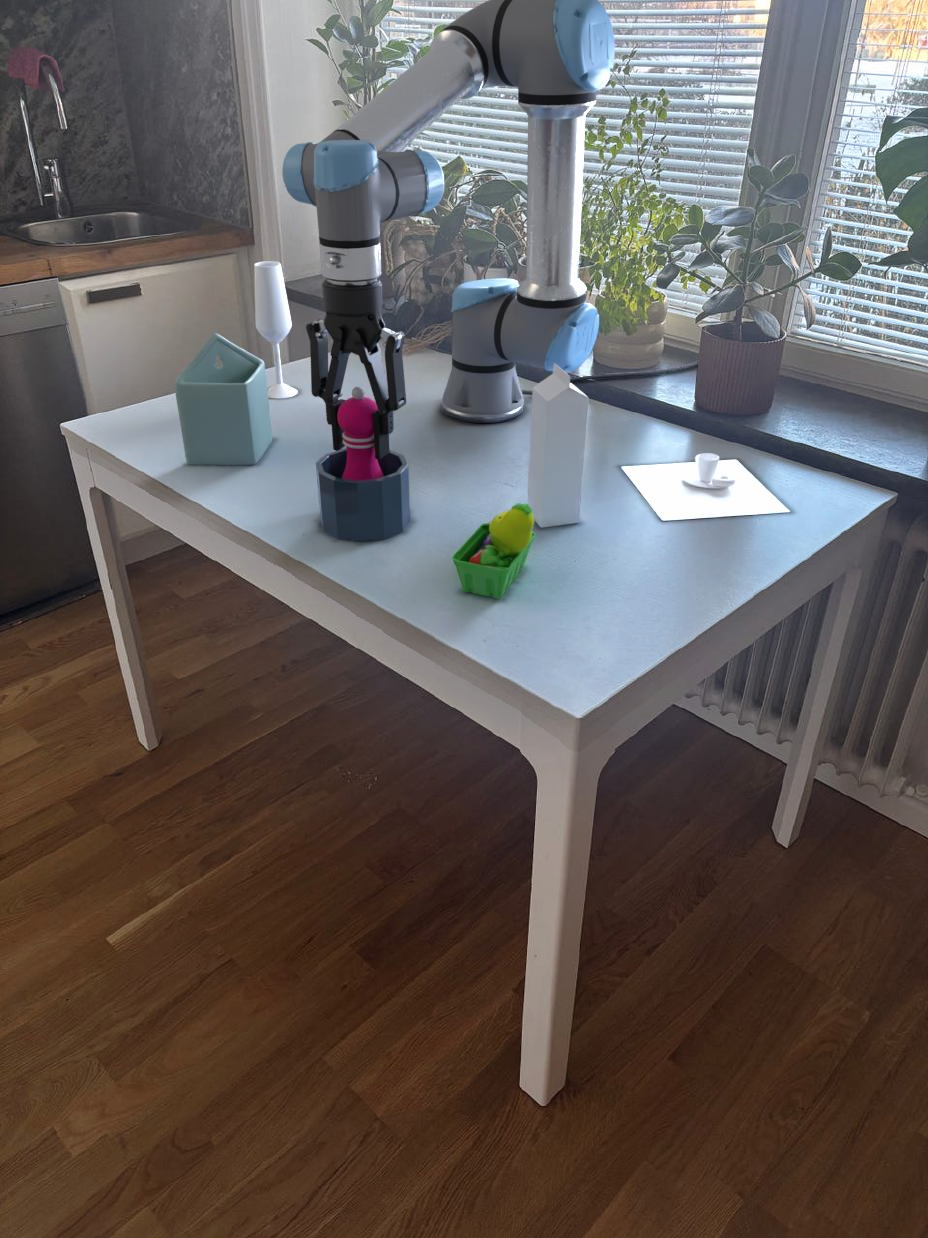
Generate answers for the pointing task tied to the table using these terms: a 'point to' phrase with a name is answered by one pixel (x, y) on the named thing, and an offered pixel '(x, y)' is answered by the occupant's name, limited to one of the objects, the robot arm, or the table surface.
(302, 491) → the table surface
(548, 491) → the milk
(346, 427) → the pepper mill
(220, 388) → the planter
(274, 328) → the champagne flute
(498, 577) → the fruit basket
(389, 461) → the crock
